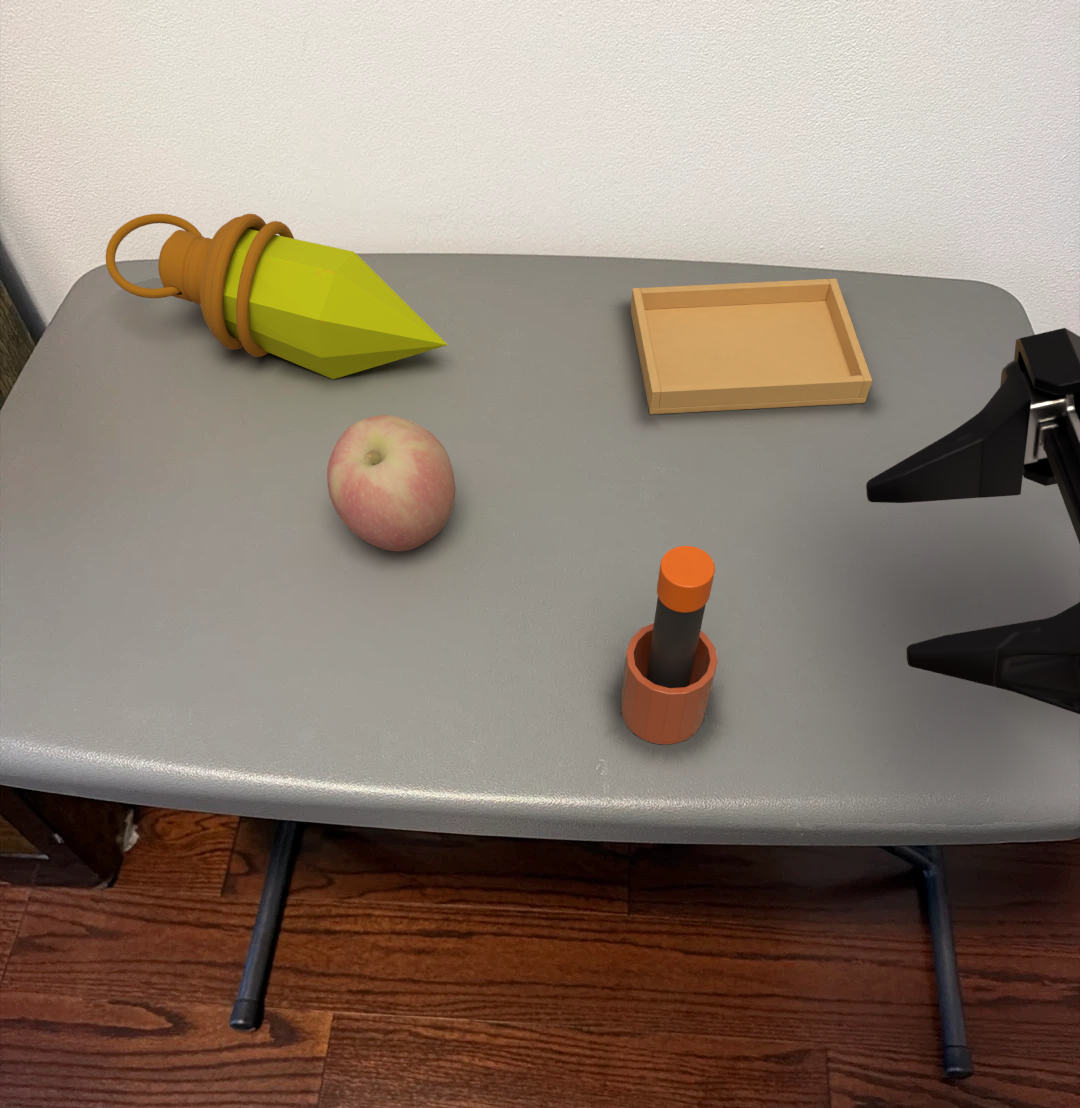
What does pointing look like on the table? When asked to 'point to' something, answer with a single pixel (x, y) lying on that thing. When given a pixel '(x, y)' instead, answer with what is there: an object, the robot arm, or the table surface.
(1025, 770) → the table surface
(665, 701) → the pen cup
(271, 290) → the plumb bob
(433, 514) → the apple
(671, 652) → the cylinder
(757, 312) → the tray
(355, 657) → the table surface
